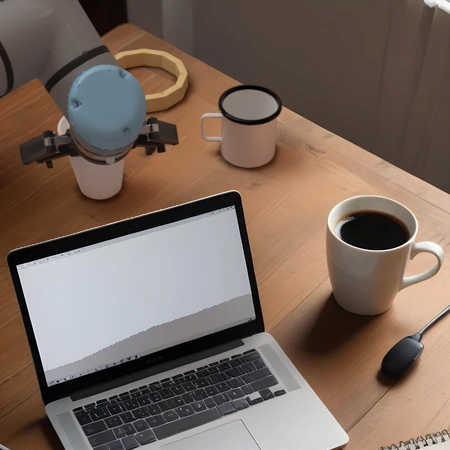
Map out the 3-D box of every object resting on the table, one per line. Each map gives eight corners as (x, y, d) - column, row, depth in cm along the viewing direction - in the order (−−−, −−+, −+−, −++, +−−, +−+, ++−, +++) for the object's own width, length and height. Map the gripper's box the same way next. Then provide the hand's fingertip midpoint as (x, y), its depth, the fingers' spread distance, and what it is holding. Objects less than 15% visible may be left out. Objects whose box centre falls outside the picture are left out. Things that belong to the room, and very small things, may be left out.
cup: (64, 169, 126) (54, 108, 117) (129, 162, 127) (124, 101, 119) (70, 213, 120) (60, 152, 111) (139, 205, 121) (134, 144, 113)
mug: (277, 133, 133) (281, 84, 126) (278, 172, 126) (283, 122, 120) (202, 131, 132) (202, 82, 126) (199, 170, 126) (199, 120, 119)
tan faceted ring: (88, 105, 136) (87, 92, 134) (115, 56, 145) (114, 44, 143) (174, 118, 134) (173, 105, 133) (195, 68, 143) (195, 55, 142)
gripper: (-4, 176, 92) (11, 191, 113) (216, 147, 96) (191, 167, 117) (-16, 107, 92) (1, 135, 112) (206, 81, 96) (183, 113, 116)
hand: (98, 152), depth 115 cm, fingers open, 13 cm apart
